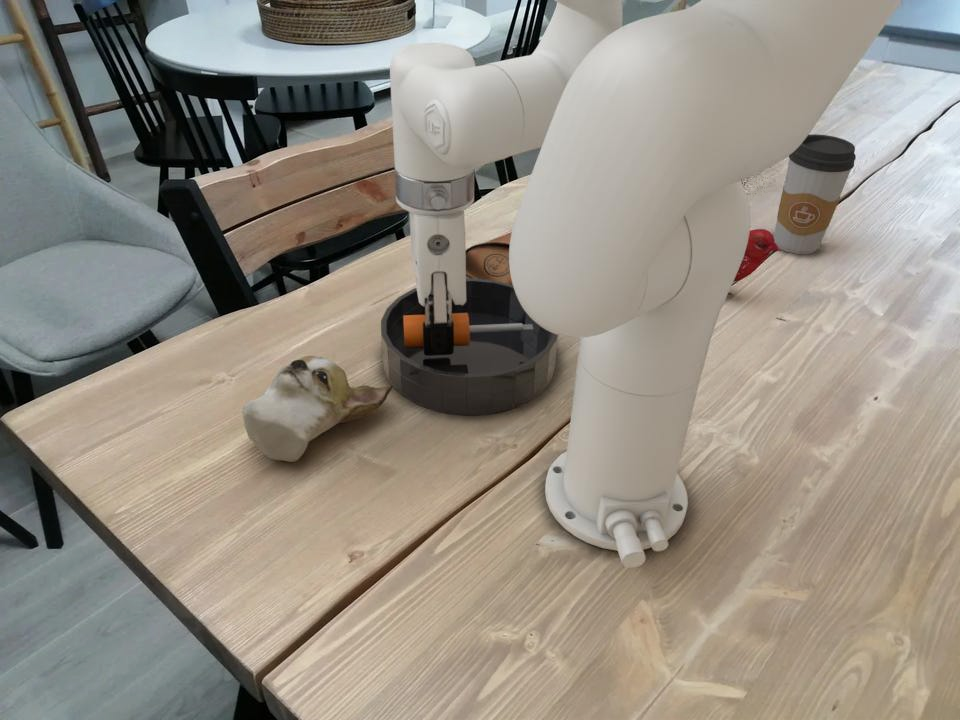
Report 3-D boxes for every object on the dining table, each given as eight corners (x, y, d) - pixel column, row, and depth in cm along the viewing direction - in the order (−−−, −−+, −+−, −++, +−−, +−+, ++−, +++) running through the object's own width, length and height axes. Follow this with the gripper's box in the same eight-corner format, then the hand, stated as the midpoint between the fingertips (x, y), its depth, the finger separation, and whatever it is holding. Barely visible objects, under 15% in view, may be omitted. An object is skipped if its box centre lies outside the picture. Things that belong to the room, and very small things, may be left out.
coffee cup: (760, 249, 106) (788, 147, 97) (771, 227, 112) (798, 129, 103) (821, 263, 103) (856, 160, 94) (829, 239, 109) (862, 140, 100)
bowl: (570, 409, 77) (575, 371, 74) (384, 420, 75) (381, 381, 72) (538, 310, 92) (541, 275, 89) (383, 317, 90) (380, 281, 87)
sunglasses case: (502, 293, 94) (485, 243, 92) (471, 298, 100) (455, 251, 98) (597, 251, 104) (583, 205, 102) (563, 258, 109) (550, 214, 108)
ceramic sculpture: (199, 377, 65) (312, 309, 76) (213, 452, 70) (318, 377, 81) (291, 420, 61) (397, 341, 72) (299, 496, 66) (397, 411, 77)
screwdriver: (405, 355, 80) (403, 327, 78) (404, 336, 83) (402, 309, 81) (534, 349, 81) (536, 321, 79) (529, 330, 84) (531, 303, 82)
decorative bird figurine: (763, 310, 93) (784, 238, 87) (626, 278, 99) (637, 209, 93) (766, 299, 95) (787, 229, 89) (632, 269, 101) (643, 200, 95)
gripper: (483, 222, 64) (479, 387, 75) (465, 152, 77) (464, 300, 88) (397, 225, 64) (405, 391, 74) (393, 153, 77) (401, 303, 88)
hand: (437, 340), depth 81 cm, fingers closed on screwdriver, 3 cm apart
